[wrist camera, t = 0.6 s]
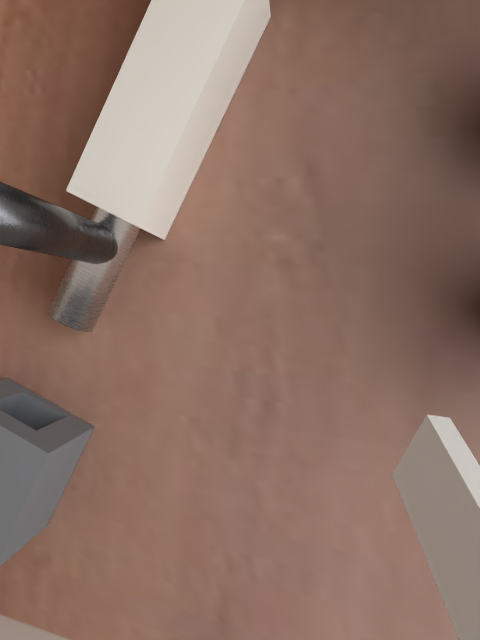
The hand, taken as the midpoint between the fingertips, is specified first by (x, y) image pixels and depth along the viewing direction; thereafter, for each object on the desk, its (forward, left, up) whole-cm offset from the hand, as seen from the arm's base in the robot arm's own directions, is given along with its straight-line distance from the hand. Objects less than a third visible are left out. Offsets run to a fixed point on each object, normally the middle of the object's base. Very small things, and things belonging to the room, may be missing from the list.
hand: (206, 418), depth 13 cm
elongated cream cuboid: (-13, -15, -23) cm, 30 cm away
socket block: (+18, -15, -23) cm, 33 cm away
